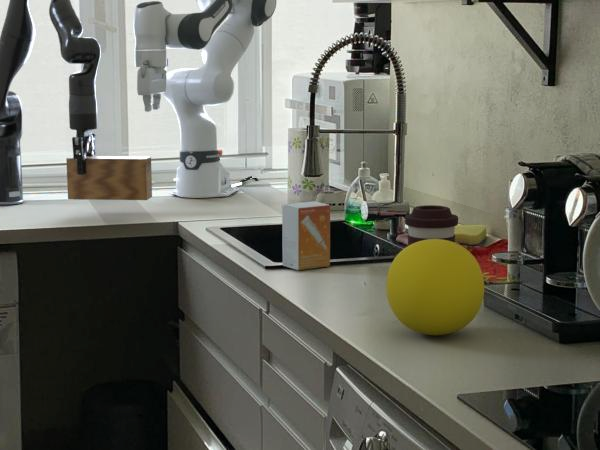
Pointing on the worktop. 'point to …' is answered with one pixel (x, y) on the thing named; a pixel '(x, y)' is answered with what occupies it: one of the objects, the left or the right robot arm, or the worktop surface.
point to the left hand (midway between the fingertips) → (85, 172)
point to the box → (110, 178)
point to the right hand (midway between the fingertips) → (152, 110)
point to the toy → (435, 287)
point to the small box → (306, 235)
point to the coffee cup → (431, 223)
